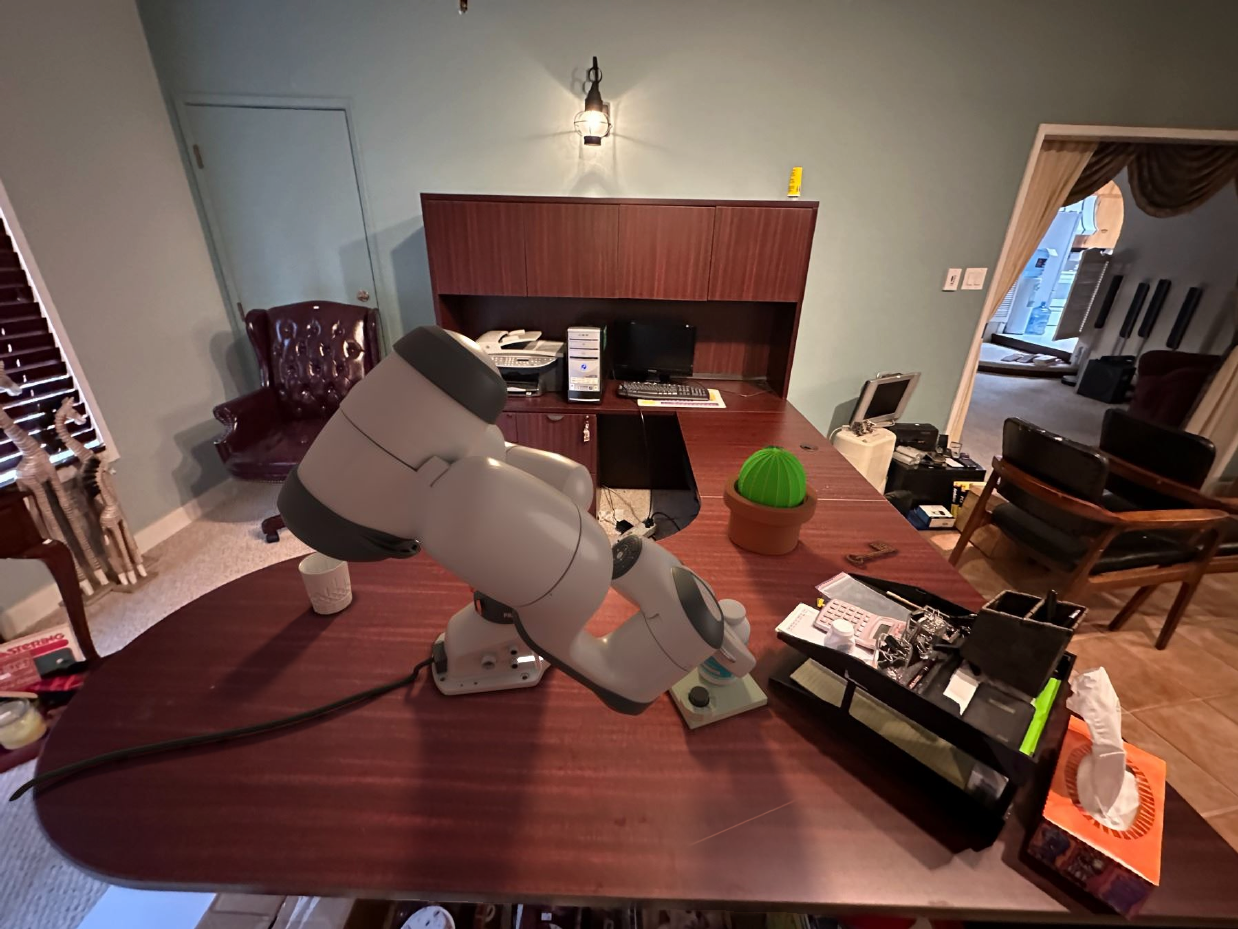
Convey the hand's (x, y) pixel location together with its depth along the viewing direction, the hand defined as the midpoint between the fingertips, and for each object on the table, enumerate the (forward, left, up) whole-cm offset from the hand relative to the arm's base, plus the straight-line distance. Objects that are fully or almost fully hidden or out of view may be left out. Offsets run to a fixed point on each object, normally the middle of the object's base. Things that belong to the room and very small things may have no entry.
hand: (728, 634), depth 81 cm
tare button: (-8, -5, -7) cm, 11 cm away
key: (+55, +21, -9) cm, 59 cm away
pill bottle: (-1, 0, -8) cm, 8 cm away
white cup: (-64, +41, -10) cm, 76 cm away
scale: (-3, -1, -9) cm, 10 cm away
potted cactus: (+34, +35, -10) cm, 50 cm away
